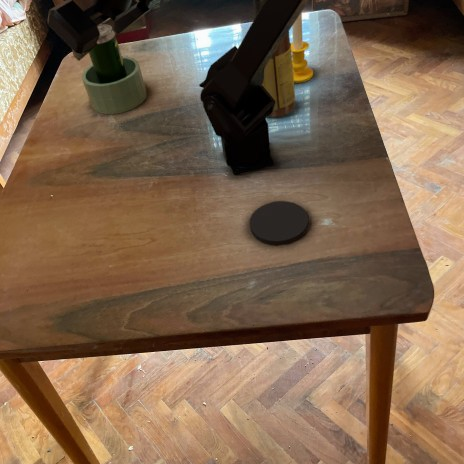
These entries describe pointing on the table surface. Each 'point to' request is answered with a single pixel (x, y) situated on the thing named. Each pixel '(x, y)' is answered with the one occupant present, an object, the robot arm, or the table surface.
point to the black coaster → (279, 223)
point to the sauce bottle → (279, 74)
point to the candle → (299, 54)
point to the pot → (116, 89)
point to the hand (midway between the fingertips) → (97, 44)
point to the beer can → (107, 57)
